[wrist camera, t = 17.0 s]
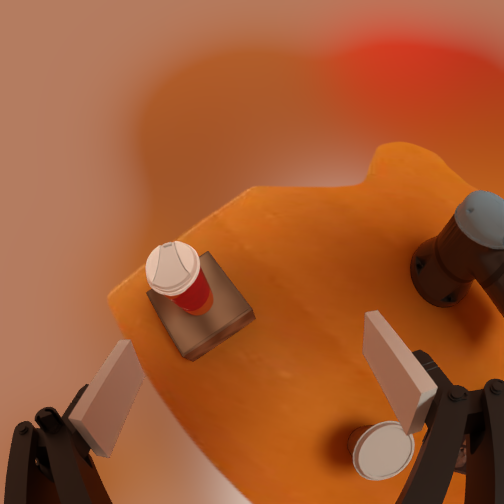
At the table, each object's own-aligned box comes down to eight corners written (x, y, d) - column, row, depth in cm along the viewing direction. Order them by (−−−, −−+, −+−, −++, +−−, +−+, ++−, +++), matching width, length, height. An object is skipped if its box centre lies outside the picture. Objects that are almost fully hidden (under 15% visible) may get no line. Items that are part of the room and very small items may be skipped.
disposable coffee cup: (329, 458, 38) (343, 475, 27) (351, 411, 41) (372, 414, 31) (375, 470, 35) (400, 486, 25) (396, 423, 39) (426, 428, 28)
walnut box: (214, 265, 58) (207, 250, 52) (255, 318, 52) (252, 308, 46) (158, 303, 55) (145, 292, 49) (193, 361, 49) (182, 356, 43)
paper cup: (174, 285, 50) (141, 245, 37) (215, 275, 50) (193, 231, 38) (180, 326, 46) (143, 298, 34) (224, 317, 46) (201, 284, 34)
